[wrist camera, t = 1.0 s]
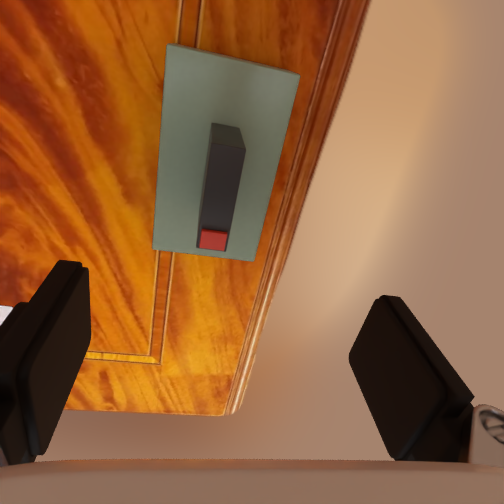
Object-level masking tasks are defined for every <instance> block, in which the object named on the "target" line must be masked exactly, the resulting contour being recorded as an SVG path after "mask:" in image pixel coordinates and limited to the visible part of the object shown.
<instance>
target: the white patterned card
mask: <svg viewBox="0 0 504 504" xmlns="http://www.w3.org/2000/svg"><path fill="white" fill-rule="evenodd" d="M12 309H13V307H8V306H0V325H1V324H2V322H3V321H4V320H5V318H6V317H7V316H8V314H9V313H10V312H11V311H12Z"/></svg>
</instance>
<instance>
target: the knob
mask: <svg viewBox="0 0 504 504" xmlns="http://www.w3.org/2000/svg"><path fill="white" fill-rule="evenodd" d="M245 154H246V147H245V144H244V141H243V137H242V134H241V131H240V128H237V127H232V126H227V125H222V124H217V123H211V129H210V136H209V143H208V150H207V157H206V164H205V172H204V179H203V186H202V193H201V200H200V207H199V216H198V228H197V241H196V248H199V249H207V250H215V251H223V252H226V250H227V245H228V240H229V235H230V230H231V225H232V220H233V215H234V210H235V205H236V200H237V195H238V190H239V185H240V180H241V174H242V169H243V164H244V159H245Z"/></svg>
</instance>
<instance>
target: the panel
mask: <svg viewBox="0 0 504 504" xmlns="http://www.w3.org/2000/svg"><path fill="white" fill-rule="evenodd" d="M299 79H300V75H299V74H297V73H295V72H292V71H289V70H286V69H282V68H278V67H274V66H269V65H265V64H261V63H257V62H252V61H248V60H244V59H240V58H235V57H231V56H227V55H223V54H219V53H214V52H210V51H206V50H202V49H197V48H193V47H189V46H185V45H180V44H176V43H169V44H167V45H166V59H165V73H164V87H163V101H162V116H161V130H160V144H159V158H158V172H157V186H156V200H155V214H154V228H153V243H152V249H154V250H163V251H171V252H179V253H187V254H195V255H203V256H211V257H220V258H228V259H236V260H244V261H252V262H253V261H254V260H255V256H256V252H257V248H258V244H259V240H260V236H261V232H262V228H263V224H264V220H265V216H266V212H267V208H268V204H269V200H270V196H271V192H272V188H273V184H274V180H275V176H276V172H277V168H278V164H279V160H280V156H281V152H282V148H283V144H284V140H285V136H286V132H287V128H288V124H289V120H290V116H291V112H292V108H293V104H294V100H295V96H296V92H297V88H298V84H299ZM211 123H217V124H222V125H227V126H232V127H237V128H240V131H241V134H242V137H243V141H244V144H245V147H246V154H245V159H244V164H243V169H242V174H241V180H240V185H239V190H238V195H237V200H236V205H235V210H234V215H233V220H232V225H231V230H230V235H229V240H228V245H227V250H226V252H223V251H215V250H207V249H199V248H196V241H197V228H198V216H199V207H200V200H201V193H202V186H203V179H204V172H205V164H206V157H207V150H208V143H209V136H210V129H211Z"/></svg>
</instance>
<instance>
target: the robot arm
mask: <svg viewBox="0 0 504 504" xmlns="http://www.w3.org/2000/svg"><path fill="white" fill-rule="evenodd" d="M90 340H91V316H90V290H89V270H88V268H86V267H82V263H81V262H76V261H67V260H59V261H58V262H57V263H56V264H55V266H54V267H53V269H52V270H51V272H50V273H49V274H48V276H47V277H46V279H45V280H44V281H43V283H42V284H41V286H40V287H39V288H38V290H37V291H36V293H35V294H34V295H33V297H32V298H31V300H30V301H29V303H28V302H20V303H18V304H17V305H16V306H15V307H14V308H13V309H12V311H11V312H10V313H9V314H8V316H7V317H6V318H5V320H4V321H3V322H2V324H1V325H0V504H504V412H503V411H502V410H500V409H498V408H496V407H493V406H489V405H485V404H484V405H483V404H482V405H478V406H476V407H475V408H474V407H473V405H472V404H471V403H470V402H471V401H472V400H473V398H474V395H473V394H472V392H471V391H470V390H469V388H468V387H467V386H466V384H465V383H464V382H463V380H462V379H461V378H460V377H459V375H458V374H457V372H456V371H455V370H454V368H453V367H452V366H451V365H450V363H449V362H448V360H447V359H446V358H445V356H444V355H443V354H442V352H441V351H440V350H439V348H438V347H437V346H436V344H435V343H434V342H433V340H432V339H431V337H430V336H429V335H428V333H427V332H426V331H425V329H424V328H423V327H422V325H421V324H420V323H419V321H418V320H417V319H416V317H415V316H414V315H413V313H412V312H411V311H410V309H409V308H408V307H407V305H406V304H405V303H404V301H403V300H402V299H401V298H400V297H396V296H388V295H382V296H380V298H379V299H376V300H375V301H374V303H373V305H372V307H371V309H370V311H369V313H368V315H367V317H366V319H365V322H364V324H363V326H362V328H361V330H360V332H359V334H358V336H357V338H356V340H355V342H354V344H353V347H352V348H351V351H350V353H349V363H350V366H351V368H352V370H353V372H354V375H355V377H356V380H357V382H358V384H359V386H360V389H361V391H362V393H363V396H364V398H365V400H366V403H367V405H368V407H369V410H370V412H371V414H372V416H373V419H374V421H375V423H376V426H377V428H378V430H379V433H380V435H381V437H382V440H383V442H384V444H385V447H386V449H387V451H388V453H389V455H390V456H391V457H392V458H394V459H395V461H368V460H367V461H365V460H273V459H269V460H268V459H266V460H265V459H262V460H261V459H259V460H258V459H101V460H64V461H45V462H34V461H35V459H36V456H37V455H43V454H44V453H45V452H46V450H47V448H48V446H49V443H50V441H51V438H52V436H53V433H54V431H55V428H56V426H57V423H58V421H59V419H60V416H61V414H62V411H63V409H64V406H65V404H66V401H67V399H68V396H69V394H70V391H71V389H72V387H73V384H74V382H75V379H76V377H77V374H78V372H79V369H80V367H81V364H82V362H83V360H84V357H85V355H86V352H87V350H88V347H89V344H90Z"/></svg>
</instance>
